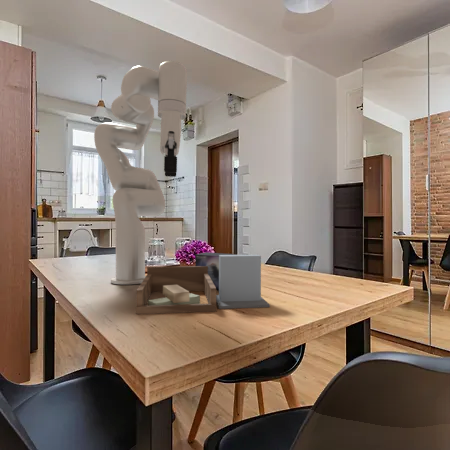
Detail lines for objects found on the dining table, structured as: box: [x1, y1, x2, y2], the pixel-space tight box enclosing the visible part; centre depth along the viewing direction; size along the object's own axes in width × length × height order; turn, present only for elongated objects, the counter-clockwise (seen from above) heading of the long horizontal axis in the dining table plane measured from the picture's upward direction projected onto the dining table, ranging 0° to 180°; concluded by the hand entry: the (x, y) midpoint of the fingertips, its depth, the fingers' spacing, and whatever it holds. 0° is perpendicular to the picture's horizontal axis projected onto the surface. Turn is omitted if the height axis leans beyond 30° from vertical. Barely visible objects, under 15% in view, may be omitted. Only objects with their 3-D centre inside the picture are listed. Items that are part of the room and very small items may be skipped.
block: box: [218, 254, 262, 302], centre depth 81 cm, size 4×10×11 cm, turn 97°
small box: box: [194, 252, 235, 291], centre depth 99 cm, size 11×6×10 cm, turn 62°
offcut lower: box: [147, 292, 201, 305], centre depth 77 cm, size 4×12×2 cm, turn 130°
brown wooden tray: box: [135, 265, 217, 315], centre depth 83 cm, size 25×17×7 cm
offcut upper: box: [162, 285, 190, 303], centre depth 77 cm, size 4×10×2 cm, turn 25°
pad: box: [216, 294, 271, 310], centre depth 81 cm, size 12×12×1 cm
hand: (170, 174), depth 89 cm, fingers open, 9 cm apart
